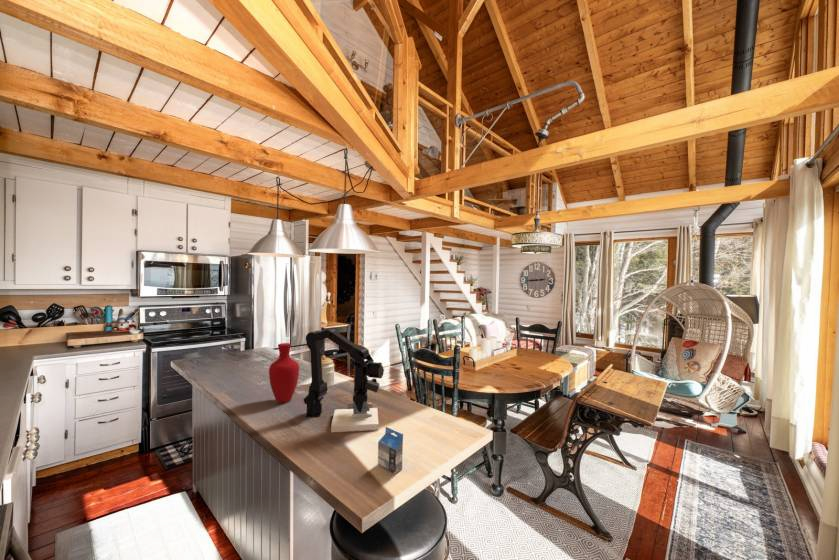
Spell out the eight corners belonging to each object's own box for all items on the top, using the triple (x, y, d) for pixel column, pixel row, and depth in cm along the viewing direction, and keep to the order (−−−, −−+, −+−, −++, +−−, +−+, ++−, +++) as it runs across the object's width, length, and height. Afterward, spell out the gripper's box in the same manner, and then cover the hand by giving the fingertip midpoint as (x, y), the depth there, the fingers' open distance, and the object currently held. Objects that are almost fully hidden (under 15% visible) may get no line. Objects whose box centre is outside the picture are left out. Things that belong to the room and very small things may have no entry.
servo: (347, 414, 152) (347, 401, 152) (348, 410, 156) (348, 397, 156) (372, 413, 154) (372, 400, 154) (372, 409, 158) (372, 396, 158)
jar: (310, 382, 209) (311, 354, 209) (332, 380, 215) (332, 352, 214) (313, 389, 197) (314, 359, 197) (336, 386, 203) (336, 357, 203)
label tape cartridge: (377, 464, 121) (377, 430, 120) (384, 460, 124) (385, 426, 123) (395, 474, 115) (395, 438, 115) (403, 469, 118) (403, 434, 118)
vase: (274, 408, 168) (274, 348, 168) (264, 400, 179) (265, 343, 179) (303, 401, 178) (304, 344, 178) (292, 394, 189) (293, 340, 189)
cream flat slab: (331, 432, 144) (331, 426, 144) (334, 414, 162) (335, 409, 162) (378, 429, 148) (378, 423, 148) (377, 412, 165) (377, 407, 165)
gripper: (379, 381, 147) (378, 417, 147) (377, 369, 165) (377, 401, 166) (353, 382, 145) (352, 418, 145) (354, 370, 164) (354, 402, 164)
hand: (360, 409), depth 155 cm, fingers closed on servo, 4 cm apart
